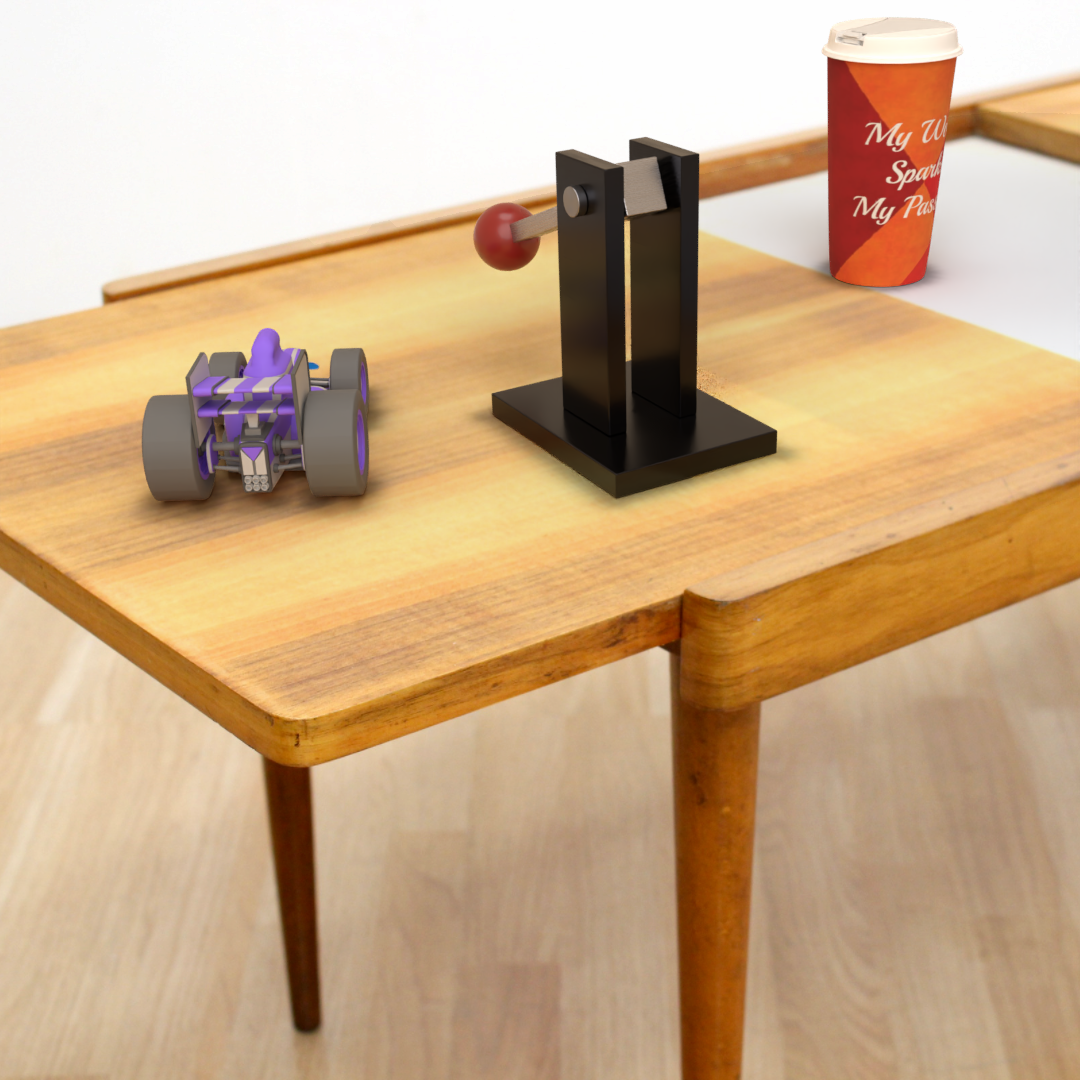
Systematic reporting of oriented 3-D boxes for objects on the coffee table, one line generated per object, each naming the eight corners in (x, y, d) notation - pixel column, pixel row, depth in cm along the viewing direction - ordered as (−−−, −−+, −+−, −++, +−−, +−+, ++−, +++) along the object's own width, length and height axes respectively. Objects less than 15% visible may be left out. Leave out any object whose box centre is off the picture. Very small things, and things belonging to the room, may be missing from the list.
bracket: (492, 414, 79) (477, 142, 73) (640, 378, 83) (638, 117, 77) (616, 498, 70) (611, 194, 64) (777, 453, 74) (787, 162, 67)
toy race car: (392, 390, 83) (382, 272, 80) (361, 513, 69) (348, 376, 66) (214, 396, 83) (198, 278, 80) (149, 519, 70) (127, 383, 67)
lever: (470, 280, 84) (456, 214, 83) (529, 269, 85) (514, 204, 85) (616, 232, 69) (599, 151, 69) (683, 219, 71) (667, 140, 70)
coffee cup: (876, 301, 93) (893, 42, 86) (784, 269, 99) (793, 26, 93) (973, 274, 97) (997, 25, 90) (879, 245, 103) (895, 10, 97)
